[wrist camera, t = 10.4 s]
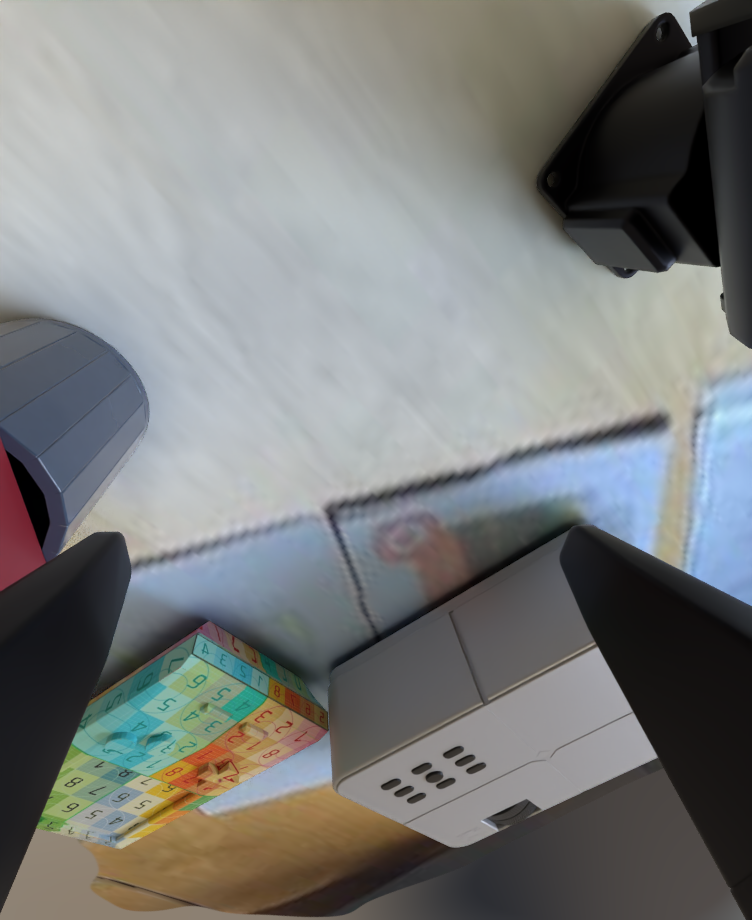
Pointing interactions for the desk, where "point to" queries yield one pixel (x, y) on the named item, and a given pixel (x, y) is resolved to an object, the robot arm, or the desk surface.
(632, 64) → the robot arm
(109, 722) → the puzzle game
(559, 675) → the projector
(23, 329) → the mug
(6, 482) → the red rectangular block
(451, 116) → the desk surface
